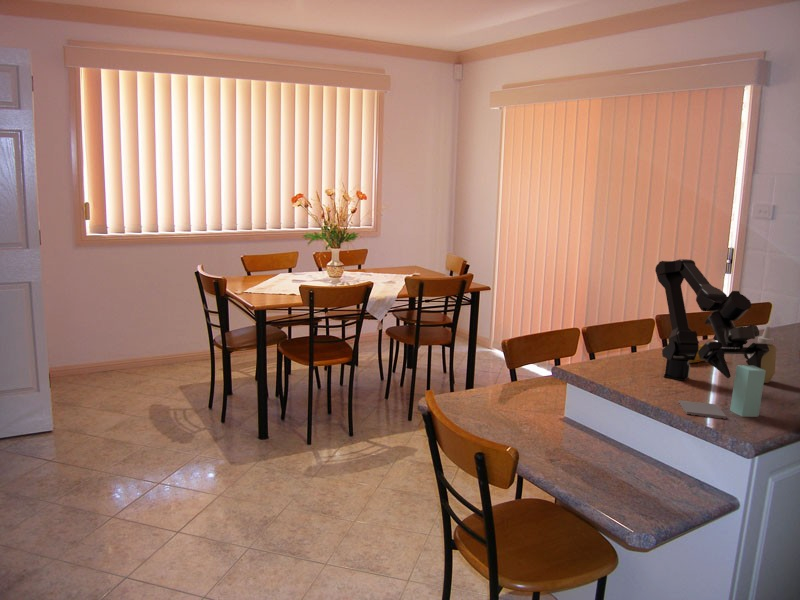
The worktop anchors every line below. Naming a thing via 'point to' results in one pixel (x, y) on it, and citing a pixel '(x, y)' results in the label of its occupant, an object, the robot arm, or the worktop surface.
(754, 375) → the teal block
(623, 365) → the worktop surface
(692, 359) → the robot arm
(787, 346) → the worktop surface
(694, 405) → the rubber mat
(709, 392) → the worktop surface
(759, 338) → the squeeze bottle
